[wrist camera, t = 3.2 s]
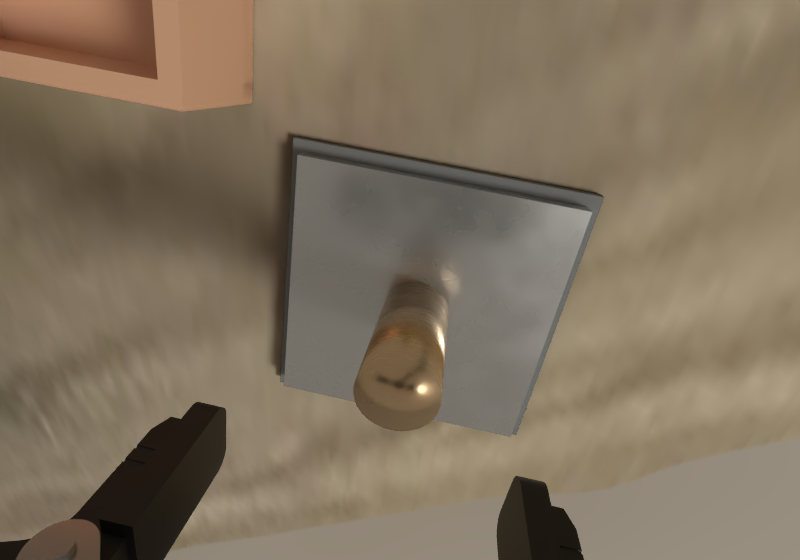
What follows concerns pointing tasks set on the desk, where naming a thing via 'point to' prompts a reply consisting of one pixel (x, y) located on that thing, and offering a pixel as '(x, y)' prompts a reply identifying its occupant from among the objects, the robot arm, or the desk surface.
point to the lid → (422, 292)
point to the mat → (452, 174)
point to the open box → (133, 49)
